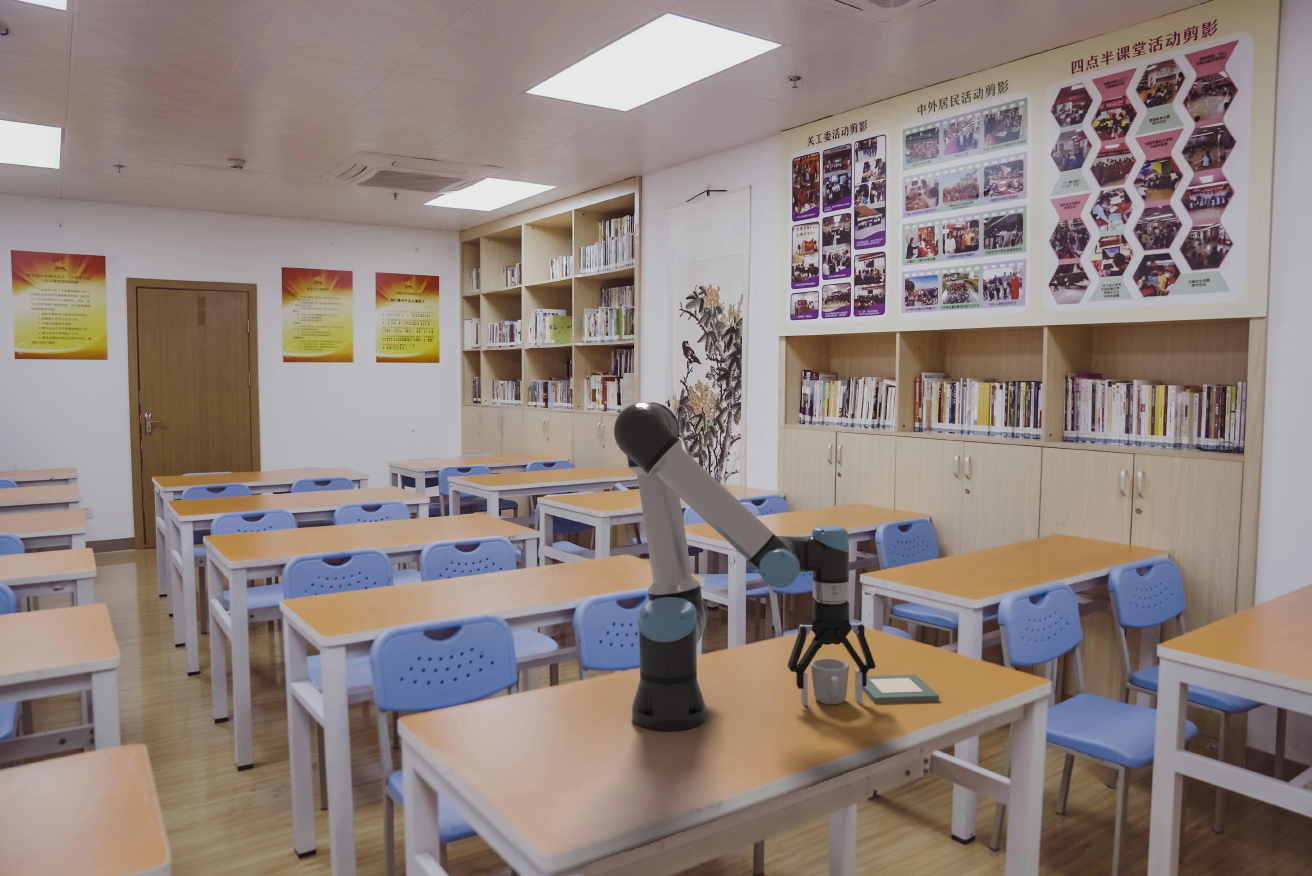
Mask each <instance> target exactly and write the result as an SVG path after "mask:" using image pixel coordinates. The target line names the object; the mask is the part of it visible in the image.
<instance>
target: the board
mask: <svg viewBox="0 0 1312 876" xmlns="http://www.w3.org/2000/svg"><path fill="white" fill-rule="evenodd" d="M862 692H864V693H865V694H866V696H867V697H869V699H870V700H871V701H872V702H873V703H874V704H887V703H888V704H889V703H890V704H891V703H895V704H897V703H916V702H917V703H918V702H919V703H920V702H924V703H925V702H926V703H927V702H939V701H940V695H939V694H938V692H936V691H934V689H932V688H931V687H930V686H929V685H928V684H927V683H926V682H925V681H923V680H922V679H921V678H920V677H919V676H918V675H917V674H894V675H893V674H891V675H867V684H866V686H862Z"/></svg>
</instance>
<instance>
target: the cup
mask: <svg viewBox="0 0 1312 876" xmlns="http://www.w3.org/2000/svg"><path fill="white" fill-rule="evenodd" d="M810 663H811V665H810V668H811V669H810V670H811V678H812V687H813V694H814V697H815V699H816V700H817V701H818V702H819V703H822V704H825V705H838V704H841V703H843V702H845V700H846V697H847V693H848V692H847V691H848V682H849V681H848V680H849V674H850V673H849V671H850V664H849V663H848V662H846V661H844V660H841V659H835V658H820V659H816V660H812V661H811V662H810Z"/></svg>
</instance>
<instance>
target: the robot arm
mask: <svg viewBox="0 0 1312 876" xmlns="http://www.w3.org/2000/svg"><path fill="white" fill-rule="evenodd" d="M680 431H681V427H680V422H679V420H678V418H677V416H676V414H675V413H674V412H673V411H672V410H671V409H670V408H668V407H667V406H666V405H664V404H662V403H658V402H654V401H653V402H641V403H640V402H639V403H633V404H631V405H629V406H627V407H625V408H624V409H622V411H621V412H620V413H619V414H618V415H617V417H616V419H615V422H614V427H613V434H614V435H613V436H614V440H615V442H616V444H617V446H618V448H619V449H620V451H621V452H623V454H624V455H626V458H627V463H628V464H627V466H628V469H629V470H631V471H632V472H633V473H634V474H635V475H636V477H637V484H638V490H639V497H640V503H641V510H642V516H643V523H644V524H643V525H644V530H645V536H646V542H647V543H646V544H647V551H648V555H649V562H650V569H651V575H652V576H651V577H652V584H651V585H650V586H649V588H648V589H647V596H648V601H647V602H645V603H644V604H643V605H642V606H641V608H640V610H639V616H638V617H639V618H638V620H637V621H638V629H639V630H638V631H639V632H638V633H639V637H638V638H639V683H638V685H637V689H636V692H635V696H634V700H633V702H632V707H631V719H632V720H633V722H634V723H635V724H636V725H638V726H640V727H643V728H645V729H650V730H655V731H656V730H657V731H666V732H667V731H668V732H671V731H672V732H673V731H680V730H681V731H682V730H688V729H691V728H692V729H693V728H695V727H697V726H700V725H701V724H703V723H704V722H705V720H706V718H707V707H706V704H705V703H706V702H705V700H704V697H703V694H702V691H701V688H700V685H699V682H698V673H697V672H698V670H697V667H698V664H697V663H698V656H697V648H698V643H699V641H700V639H701V638H702V636H703V634H704V633H705V631H706V629H707V626H708V622H709V611H708V607H707V604H706V602H705V601H704V598H703V596H702V589H701V583H700V581H699V580H697V579H696V578H694V576H693V575H692V570H691V569H692V568H691V563H690V556H689V549H688V542H687V536H686V530H685V522H684V516H683V511H682V510H683V509H682V504H681V499H682V501H683V502H685V504H687V505H688V507H690V508H691V509H692V510H693V511H694V512H695V513H697V514H698V515H699V516H700V517H701V518H702V519H703V520H704V521H705V522H706V523H708V525H709V526H711V528H713V530H715V531H716V532H717V533H718V534H719V535H720V536H721V537H722V538H723V539H724V540H725V541H726V542H728V544H730V545H731V546H732V547H733V549H735V550H736V551H737V552H738V553H739V554H740V555H742V556H743V557H744V558H745V559H746V560H747V561H748V562H749V563H750V564H751V565H752V566H753V567H754V569H756V570H757V571H759V575H760V577H761V579H762V580H763V581H764V582H765V583H766V585H768V586H770V587H772V588H777V589H782V588H786V587H789V586H790V585H791V584H793V583H794V582H795V580H796V579H797V577H798V575H799V574H800V573H801V572H803V573H809V572H810V573H811V572H812V598H813V599H814V600H813V601H812V622H811V623H810V624H802V623H799V624H798V625H797V637H796V639H795V642H794V644H793V648H792V651H791V654H790V657H789V659H788V662H787V668H788V669H789V670H790V672H792V673H793V672H794V673H796V676H795V678H796V679H795V683H796V687H797V689H800V697H801V699H800V700H801V703H802V704H803V706H808V703H809V701H808V698H809V697H808V693H809V692H808V691H809V689H808V674H807V672H806V670H807V668H808V667H809V665H810V663H812V662H813V659H814V658H815V656H816V654H817V653H818V652H819V650H820V649H821V648H822V647H823V645H825V646H828V645H829V646H830V645H840V644H842V645H843V647H844V648H845V650H846V651H847V652H848V654H849V655H850V657H851V659H852V660H853V661H854V662H855V664H856V666H857V667H858V668H855V669H854V694H855V695H854V698H855V699H854V700H856V701H857V703H858V704H863V690H862V686H866V684H867V676H868V675H867V674H868V672H869V670H874V669H875V668H876V667H877V666H876V663H875V660H874V658H873V657H874V656H873V655H872V652H871V649H870V647H869V643H868V641H867V638H866V635H865V632H866V629H865V625H864V624H863V623H861V622H860V621H856V623H850V602H849V601H848V599H850V584H849V583H850V581H849V580H850V579H849V577H850V571H849V570H850V555H849V554H850V546H849V543H850V542H849V533H848V531H847V530H846V529H845V528H844V527H841V526H836V525H835V526H833V525H825V526H824V525H823V526H815V527H814V528H813V529H812V533H811V535H808V536H794V535H793V536H790V535H788V536H787V535H785V536H784V535H776V534H775V533H774V532H773V531H772V530H770V528H768V526H766V524H764V523H763V522H762V521H761V520H760V519H759V518H758V517H757V516H755V515H754V514H753V513H752V512H751V511H750V510H749V509H748V508H747V507H746V506H745V505H744V504H743V503H742V502H740V500H738V499H737V498H736V497H735V496H734V495H733V494H732V493H731V492H729V490H728V489H726V488H725V487H724V486H723V485H722V484H721V483H720V481H718V480H717V479H716V478H714V476H713V475H711V474H710V473H709V472H708V471H707V469H705V468H704V467H703V466H702V465H701V464H700V463H699V462H697V461H696V460H695V459H694V458H693V457H692V456H691V455H690V454H689V453H688V452H687V451H686V450H685V449H683V443H682V440H681V439H680V435H681V432H680ZM851 630H852V632H853V633H854V634H855V636H856V638H857V641H858V643H859V647H860V649H861V652H862V655H863V657H864V660H865V662H864V661H863V660H862V658H861V657H860V656H859V654H858V652H857V651H856V650H855V649H854V647H853V646H852V644H851V641H849V639H848V638H847V636H848V635H849V633H850V632H851ZM811 632H813V634H814V637H813V638H812V639H811V643H810V644H809V646H808V647H807V648H806V651H805V652H804V654H803V655H802V652H803V649H804V646H805V643H806V640H807V636H809V635H810V633H811ZM801 655H802V657H801Z"/></svg>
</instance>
